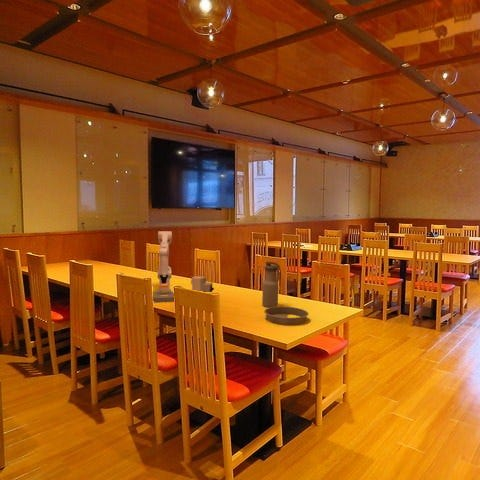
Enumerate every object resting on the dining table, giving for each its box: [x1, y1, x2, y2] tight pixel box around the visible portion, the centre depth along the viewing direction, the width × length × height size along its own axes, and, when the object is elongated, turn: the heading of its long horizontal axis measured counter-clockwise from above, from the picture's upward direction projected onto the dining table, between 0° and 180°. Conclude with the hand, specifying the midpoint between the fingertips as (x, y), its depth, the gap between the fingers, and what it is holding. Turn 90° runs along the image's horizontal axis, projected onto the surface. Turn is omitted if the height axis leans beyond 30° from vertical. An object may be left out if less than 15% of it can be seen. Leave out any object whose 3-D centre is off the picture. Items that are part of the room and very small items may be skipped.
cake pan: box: [263, 306, 309, 326], centre depth 223 cm, size 25×25×4 cm
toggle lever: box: [161, 284, 168, 294], centre depth 265 cm, size 2×5×7 cm, turn 102°
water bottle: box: [261, 260, 281, 308], centre depth 251 cm, size 10×10×28 cm
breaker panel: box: [152, 288, 175, 303], centre depth 265 cm, size 18×18×6 cm
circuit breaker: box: [190, 275, 215, 293], centre depth 264 cm, size 8×14×15 cm, turn 78°
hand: (163, 285), depth 272 cm, fingers closed
